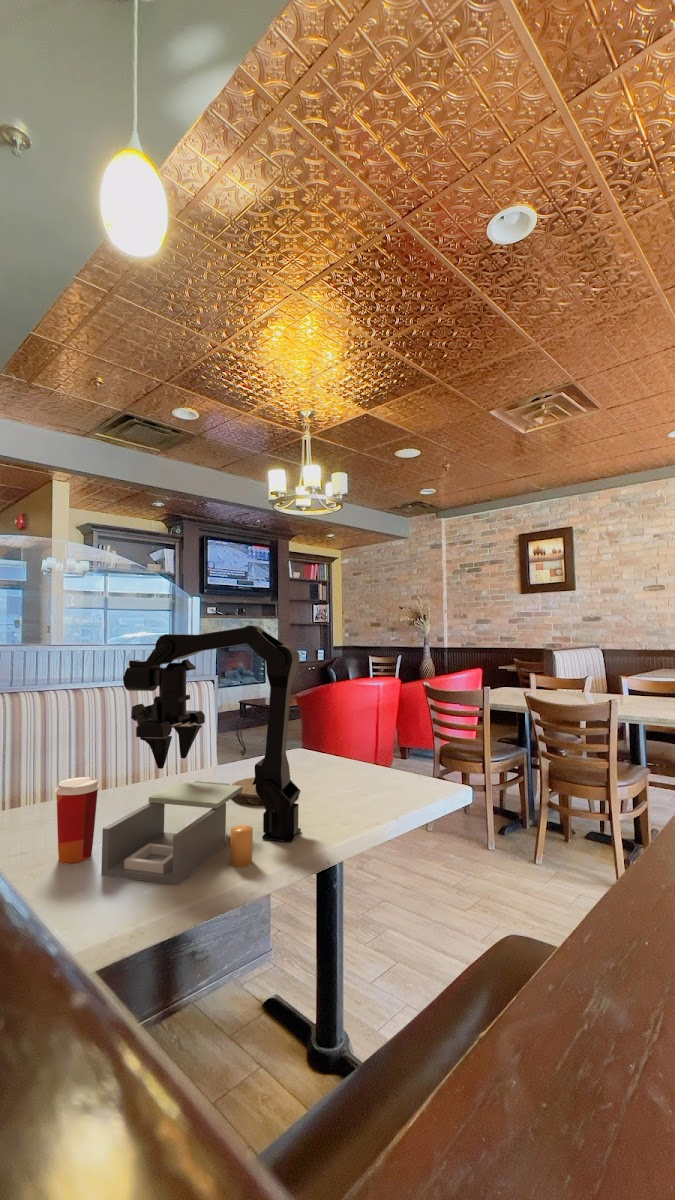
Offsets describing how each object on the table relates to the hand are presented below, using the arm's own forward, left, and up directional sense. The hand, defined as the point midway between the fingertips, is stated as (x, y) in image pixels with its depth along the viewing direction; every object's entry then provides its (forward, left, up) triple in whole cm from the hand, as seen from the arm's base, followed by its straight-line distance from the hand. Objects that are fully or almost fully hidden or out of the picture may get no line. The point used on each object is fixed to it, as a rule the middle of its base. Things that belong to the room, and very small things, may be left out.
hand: (172, 763), depth 118 cm
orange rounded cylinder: (-22, +12, -14) cm, 29 cm away
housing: (-8, +14, -14) cm, 21 cm away
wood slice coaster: (-11, -26, -14) cm, 31 cm away
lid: (-8, +3, -7) cm, 11 cm away
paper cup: (+9, +18, -14) cm, 25 cm away
